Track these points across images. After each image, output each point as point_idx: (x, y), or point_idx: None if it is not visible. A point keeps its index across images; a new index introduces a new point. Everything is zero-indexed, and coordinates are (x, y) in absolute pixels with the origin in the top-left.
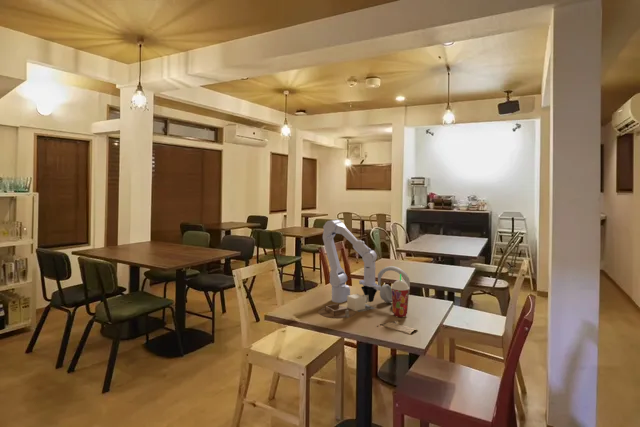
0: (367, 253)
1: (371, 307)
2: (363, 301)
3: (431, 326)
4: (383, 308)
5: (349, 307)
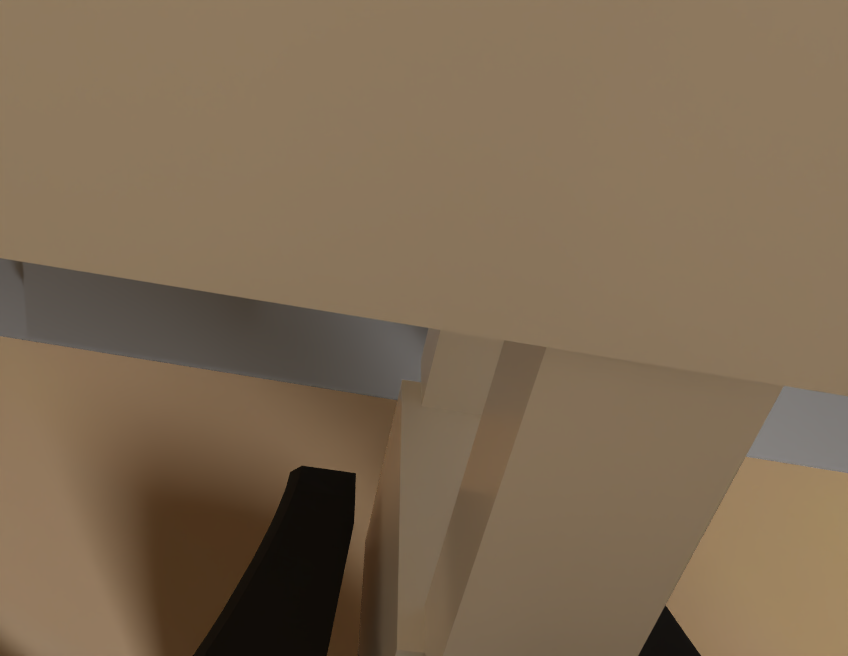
0: None
1: (206, 311)
2: None
3: None
4: (100, 564)
5: None
